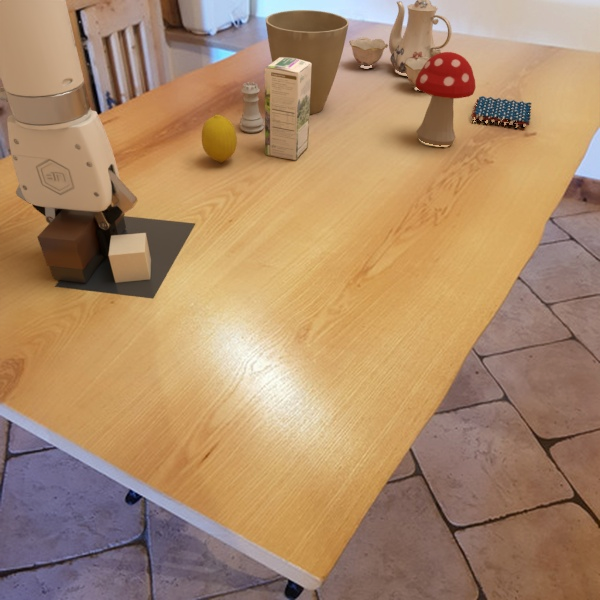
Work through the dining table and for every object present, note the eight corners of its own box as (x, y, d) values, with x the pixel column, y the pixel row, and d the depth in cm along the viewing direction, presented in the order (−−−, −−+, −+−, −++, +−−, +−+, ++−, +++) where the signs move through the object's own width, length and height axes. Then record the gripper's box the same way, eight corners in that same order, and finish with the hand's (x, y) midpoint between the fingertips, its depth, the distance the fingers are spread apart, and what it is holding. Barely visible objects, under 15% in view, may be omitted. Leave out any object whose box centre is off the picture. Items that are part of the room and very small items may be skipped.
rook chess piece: (238, 124, 102) (236, 80, 96) (262, 123, 102) (261, 79, 97) (241, 134, 98) (238, 89, 93) (265, 133, 99) (264, 88, 94)
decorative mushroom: (469, 140, 98) (490, 52, 88) (452, 157, 93) (471, 65, 83) (418, 127, 102) (432, 41, 92) (398, 143, 97) (411, 53, 87)
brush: (87, 283, 63) (74, 240, 60) (51, 279, 64) (36, 236, 60) (127, 227, 73) (118, 187, 69) (96, 224, 73) (85, 184, 69)
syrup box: (278, 142, 96) (277, 55, 87) (309, 148, 95) (312, 60, 85) (264, 155, 92) (262, 66, 83) (297, 161, 91) (298, 71, 81)
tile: (56, 293, 64) (53, 286, 63) (113, 220, 76) (111, 214, 75) (154, 305, 63) (153, 298, 62) (196, 229, 75) (195, 223, 74)
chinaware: (335, 73, 129) (334, -5, 118) (382, 51, 137) (386, -23, 125) (430, 107, 114) (440, 22, 102) (478, 82, 121) (492, -1, 109)
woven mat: (475, 103, 112) (477, 93, 110) (529, 111, 109) (532, 101, 108) (469, 123, 104) (471, 112, 103) (527, 131, 101) (530, 120, 100)
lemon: (214, 173, 87) (210, 124, 82) (198, 160, 90) (192, 112, 85) (244, 164, 90) (241, 116, 84) (227, 152, 93) (223, 105, 88)
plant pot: (266, 122, 102) (264, 30, 92) (267, 94, 114) (266, 9, 103) (346, 123, 103) (353, 31, 93) (339, 94, 114) (344, 10, 104)
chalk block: (115, 283, 64) (108, 255, 61) (117, 262, 67) (110, 235, 64) (150, 279, 64) (144, 251, 62) (151, 259, 67) (145, 232, 65)
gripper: (-50, 109, 54) (10, 259, 66) (113, 123, 52) (145, 274, 64) (-6, 83, 60) (42, 225, 72) (142, 95, 58) (166, 238, 70)
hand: (90, 247), depth 68 cm, fingers closed on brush, 4 cm apart
